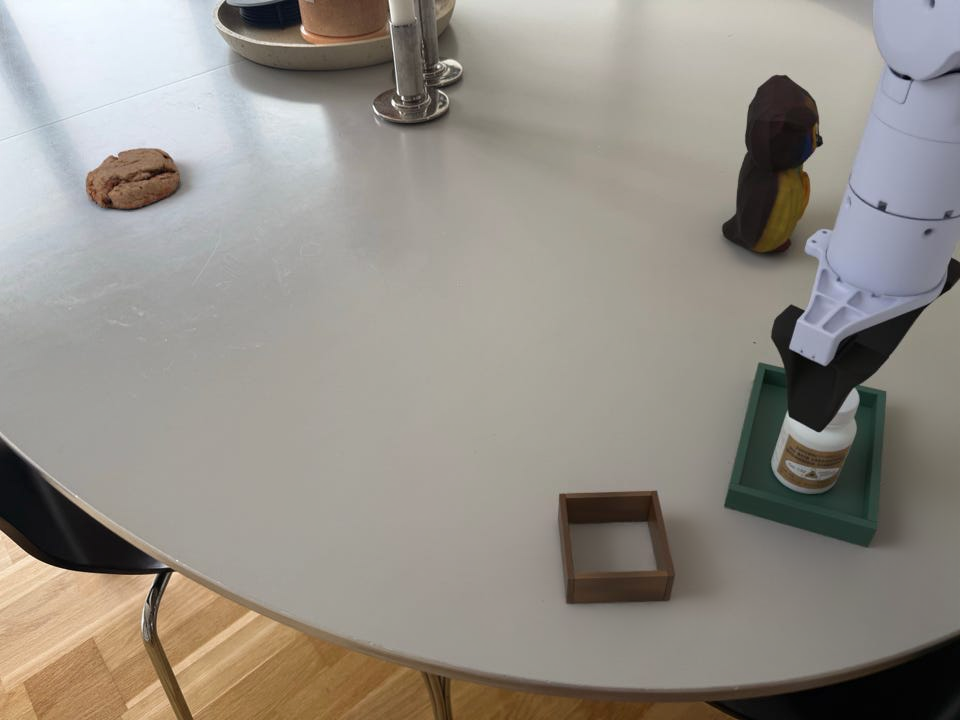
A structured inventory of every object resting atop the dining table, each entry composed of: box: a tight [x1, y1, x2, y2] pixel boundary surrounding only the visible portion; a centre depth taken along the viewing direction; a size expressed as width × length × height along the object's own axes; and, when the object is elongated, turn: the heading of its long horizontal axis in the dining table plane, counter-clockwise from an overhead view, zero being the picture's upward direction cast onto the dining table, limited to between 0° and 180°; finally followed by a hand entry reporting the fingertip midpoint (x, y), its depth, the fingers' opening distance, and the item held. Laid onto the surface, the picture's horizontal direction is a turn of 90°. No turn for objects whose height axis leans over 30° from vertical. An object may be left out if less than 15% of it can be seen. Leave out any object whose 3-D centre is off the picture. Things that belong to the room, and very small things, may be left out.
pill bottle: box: [771, 388, 859, 494], centre depth 54 cm, size 4×4×8 cm
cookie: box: [85, 147, 181, 210], centre depth 89 cm, size 10×11×3 cm
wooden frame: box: [557, 490, 676, 604], centre depth 52 cm, size 6×6×3 cm
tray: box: [723, 361, 887, 548], centre depth 58 cm, size 13×9×2 cm
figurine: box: [721, 74, 824, 253], centre depth 73 cm, size 10×7×15 cm
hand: (838, 387), depth 49 cm, fingers open, 7 cm apart
